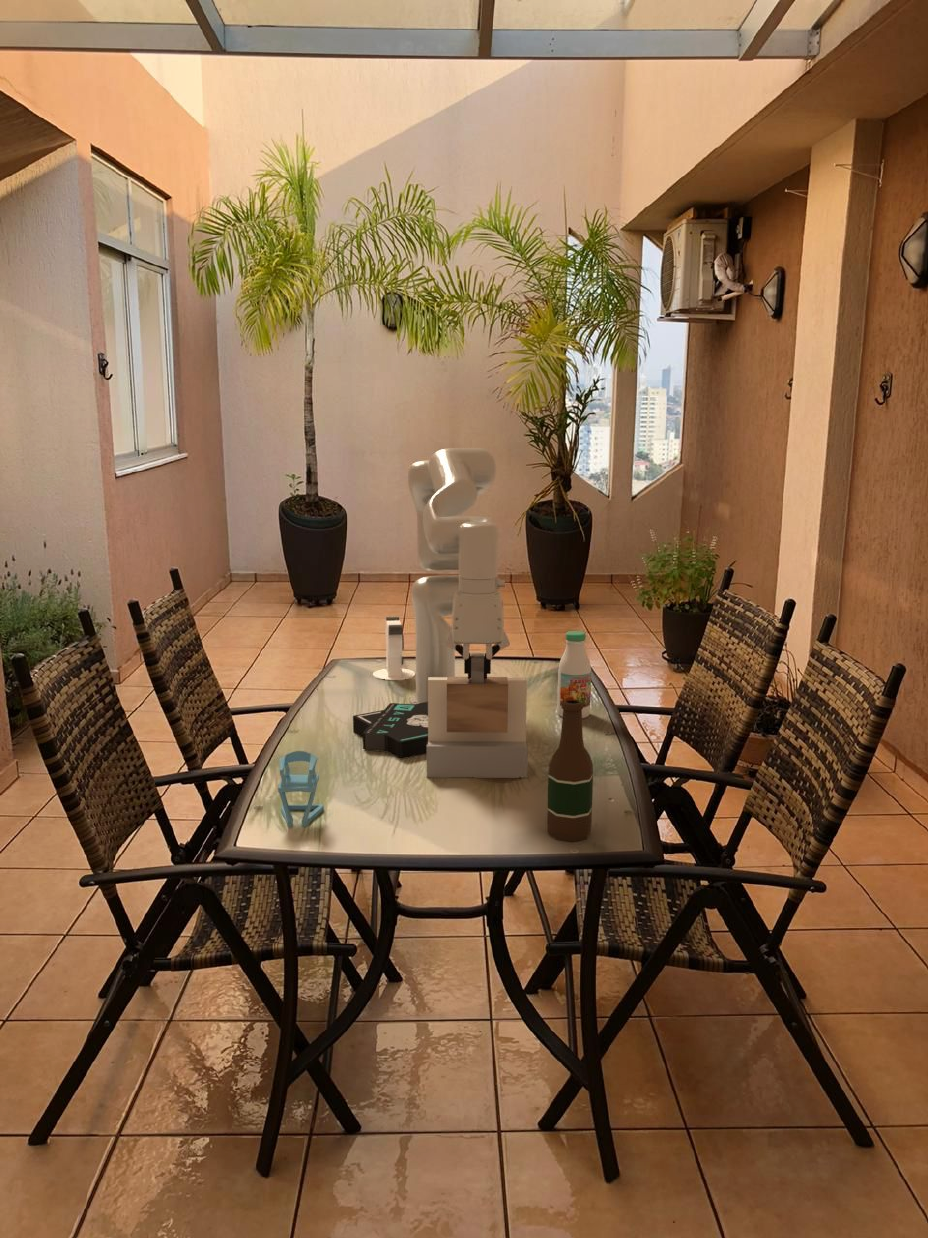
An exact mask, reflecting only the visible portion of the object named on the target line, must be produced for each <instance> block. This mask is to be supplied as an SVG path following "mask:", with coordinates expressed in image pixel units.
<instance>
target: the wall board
mask: <svg viewBox="0 0 928 1238" xmlns="http://www.w3.org/2000/svg"><path fill="white" fill-rule="evenodd" d="M507 678H508V729H507V733H474V732H447V677H428V745H427V753H426V778H450V777H474V778H475V779H476V778H479V779H481V778H485V779H486V778H487V779H488V778H490V779H528V763H529V762H528V757H529V756H528V755H529V749H528V748H529V747H528V746H529V745H527V701H528V700H527V697H528V696H527V694H528V692H527V690H528V689H527V688H528V687H527V686H528V684H527V683H528V681H527V680H528V678H527V677H507ZM519 777H521V778H519ZM524 777H526V778H524Z"/></svg>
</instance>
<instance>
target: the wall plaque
mask: <svg viewBox="0 0 928 1238" xmlns="http://www.w3.org/2000/svg"><path fill="white" fill-rule="evenodd" d="M352 730H353V731H352V732H353V733H355V734H356V735H358V736H359V737H362V749H365V751H373V750H379V751H378V752H387V751H388V752H387V753H389V754H391V755H392V756H395V757H396V758H397V759H402V760H403V759H406V758H412V757H415V756H421V755H427V745H428V702H424V703H418V704H410V703H399V702H398V703H397V702H395V703H394V702H390V703H389V704H388V705H387V706H386V707H385V708H384V709H381V710H377V711H372V712H367V713H361V714H355V715H353V716H352Z"/></svg>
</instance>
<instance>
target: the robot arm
mask: <svg viewBox="0 0 928 1238" xmlns="http://www.w3.org/2000/svg"><path fill="white" fill-rule="evenodd" d="M408 468H409V469H408V472H407V483H408V490H409V493H410V496H411V499H412V501H413V503H414V506H415V507H414V508H415V510H416V528H417V529H416V530H417V531H416V536H417V538H416V541H417V542H416V546H417V547H416V548H417V561H418V564H419V566H420V567H421V569H423V570H425V571H433V572H446V571H447V572H448V571H458V575H454V574H453V575H447V574H446V575H429V576H424V577H420V578H418V579H417V580H416V581H414V582H413V584H412V587H411V603H412V608H413V614H414V615H413V616H414V617H413V618H414V624H415V625H414V630H415V631H414V632H415V694H414V695H413V696H411V697H410V698H409V704H418V703H424V702H428V677H456V652H457V653H458V654H459V655H460V656H462V658H463V659H464V667H463V671H464V673H463V674H467V677H468V679H470V678H471V653H470V648H471V647H470V645H477V644H478V645H485V653H484V678H485V679H487V677H488V675H489V674H490V675H491V673H492V669H491V668H492V665H491V664H492V662H491V661H492V658H493V657H494V656H495V655H496V654H497V653H498V652H500V651H501V650H503V649H506V648H508V647H510V646H511V642H510V640H509V637H508V636H507V633H506V630H505V629H504V628H505V623H504V622H505V621H504V620H505V619H504V605H503V596H502V592H501V591H499V590H498V589H501V588H505V585H506V584H505V583H506V580H505V579H500V578H499V577H498V565H499V564H498V563H499V562H498V561H499V557H498V554H499V551H498V550H499V527H498V524H496V523H495V521H494V519H493V518H492V517H489V516H483V515H476V516H473V515H472V516H471V515H469V516H468V515H466V516H465V515H464V516H460V515H463V514H465V513H466V512H468V511H469V510H470V509H472V508H473V507H474V505H475V503H476V502H477V499H478V497H480V496H482V495H483V494H484V493H485V492H486V491H487V490H489V488H491V487H492V485H493V484H494V482H495V479H496V475H497V466H496V461H495V459H494V456H493V455H492V453H491V452H490V451H489V450H488V449H486V448H482V447H462V448H461V447H457V448H456V447H454V448H453V447H448V448H443V449H440V450H437V451H436V452H434V453H433V454H432V455H431V456H430V458H429V459H427V460H419V461H416V462H414V463H412V464H410V466H409V467H408ZM447 616H449V617H450V616H451V625H450V624H449V623H448V621H447V620H446V619H445V617H447ZM462 644H463V645H462Z"/></svg>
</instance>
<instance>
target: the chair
mask: <svg viewBox="0 0 928 1238" xmlns="http://www.w3.org/2000/svg"><path fill="white" fill-rule="evenodd" d="M318 760H319V758H318V757H317V756H316V755H315V754H312V753H310V752H308V751H304V750H296V751H291V752H289V753H287V754H285V755H283V756H281V757H280V758H279V759H278V764H279V765H278V766H279V775H280V778H281V779H280V783H279V785H278V787H277V792H278V793H279V797H280V799H281V803H282V804H281V805H280V808H281V809H280V811H281V814H282V815H283V818H284V820H285V822H286V825H287V827H288V828H293V826H294V820H293V816H292V813H291V811H303V810H304V812H303V815H302V819H301V827H302V828H307V827H308V825H309V824H311V822H312V821H313V820H314V819H316V818H317V817H318V816H319V815H320V814H321V813H322V812H323V811H324V804H321V803H320V804H313V803H314V799H315V795H316V791H317V786H318V782H319V779H320V776H319V775H320V773H319V774H317V773H316V765H317V762H318ZM293 762H307V763H309V768H308V774H291V772H290V771H291V770H290V767H289V763H293ZM292 792H293V793H294V792H295V793H296V792H297V793H298V792H301V793H309V798H308V801H307V803H306V804H289V801H288V799H287V795H286V793H292ZM311 810H312V811H311Z"/></svg>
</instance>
